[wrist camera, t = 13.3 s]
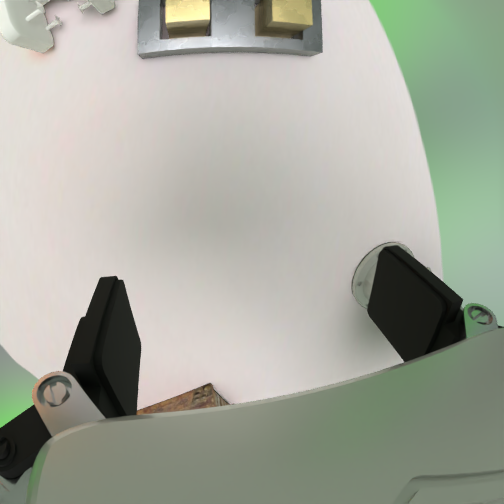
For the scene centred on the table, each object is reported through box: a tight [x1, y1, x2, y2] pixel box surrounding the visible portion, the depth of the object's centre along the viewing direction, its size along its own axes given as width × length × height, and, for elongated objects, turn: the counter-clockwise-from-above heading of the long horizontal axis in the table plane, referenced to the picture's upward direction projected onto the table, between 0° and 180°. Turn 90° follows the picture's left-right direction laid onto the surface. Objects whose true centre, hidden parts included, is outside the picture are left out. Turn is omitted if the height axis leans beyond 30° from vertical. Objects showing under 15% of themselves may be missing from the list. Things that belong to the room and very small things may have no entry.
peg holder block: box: [138, 0, 322, 59], centre depth 25 cm, size 20×8×8 cm, turn 91°
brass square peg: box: [166, 0, 210, 39], centre depth 24 cm, size 4×4×8 cm
